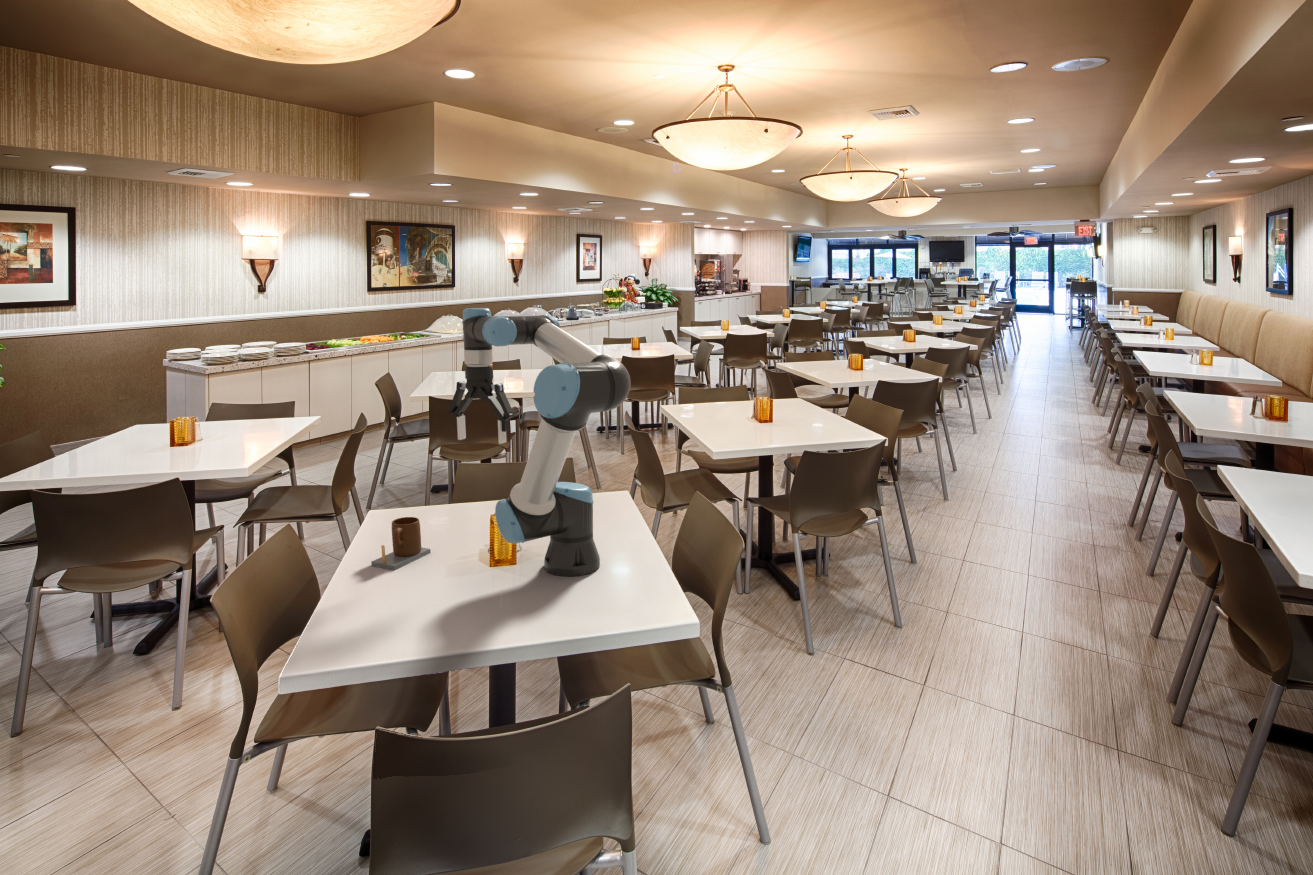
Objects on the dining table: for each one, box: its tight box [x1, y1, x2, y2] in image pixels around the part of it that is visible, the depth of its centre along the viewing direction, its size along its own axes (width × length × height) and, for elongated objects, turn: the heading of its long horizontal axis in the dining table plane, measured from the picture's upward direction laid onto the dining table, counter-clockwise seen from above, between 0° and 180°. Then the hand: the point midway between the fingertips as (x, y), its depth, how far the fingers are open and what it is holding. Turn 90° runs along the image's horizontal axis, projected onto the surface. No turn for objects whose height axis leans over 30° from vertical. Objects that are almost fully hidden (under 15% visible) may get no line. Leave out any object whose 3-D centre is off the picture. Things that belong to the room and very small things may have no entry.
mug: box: [391, 516, 422, 557], centre depth 203 cm, size 12×8×9 cm, turn 178°
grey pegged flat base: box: [371, 544, 432, 571], centre depth 204 cm, size 8×15×6 cm, turn 158°
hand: (482, 441), depth 204 cm, fingers open, 13 cm apart
